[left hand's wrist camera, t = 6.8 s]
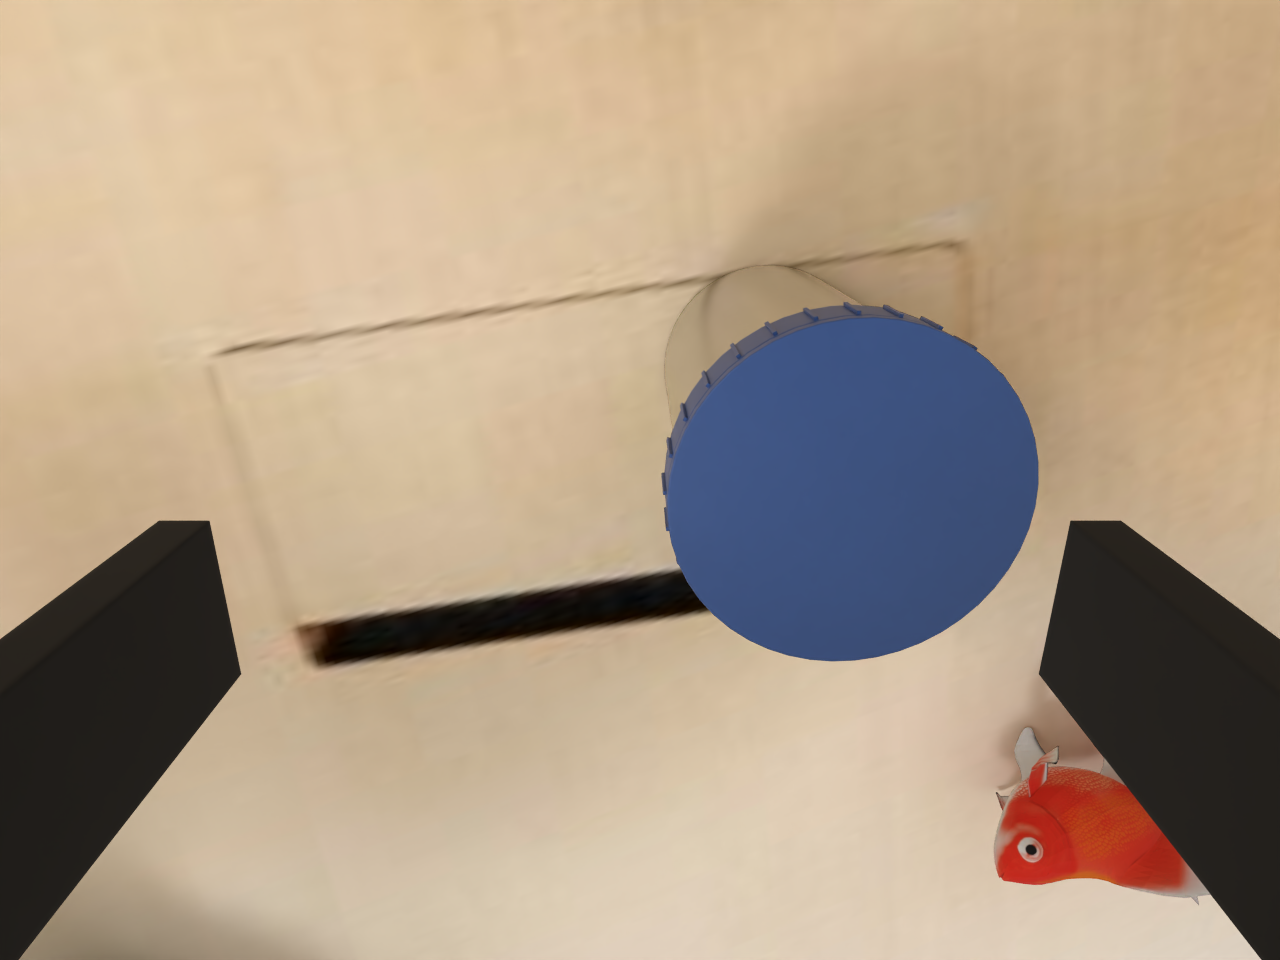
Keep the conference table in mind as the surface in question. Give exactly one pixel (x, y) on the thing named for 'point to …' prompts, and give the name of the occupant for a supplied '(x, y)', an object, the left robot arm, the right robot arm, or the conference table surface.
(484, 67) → the conference table surface
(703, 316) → the jar
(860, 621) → the lid
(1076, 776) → the fish
